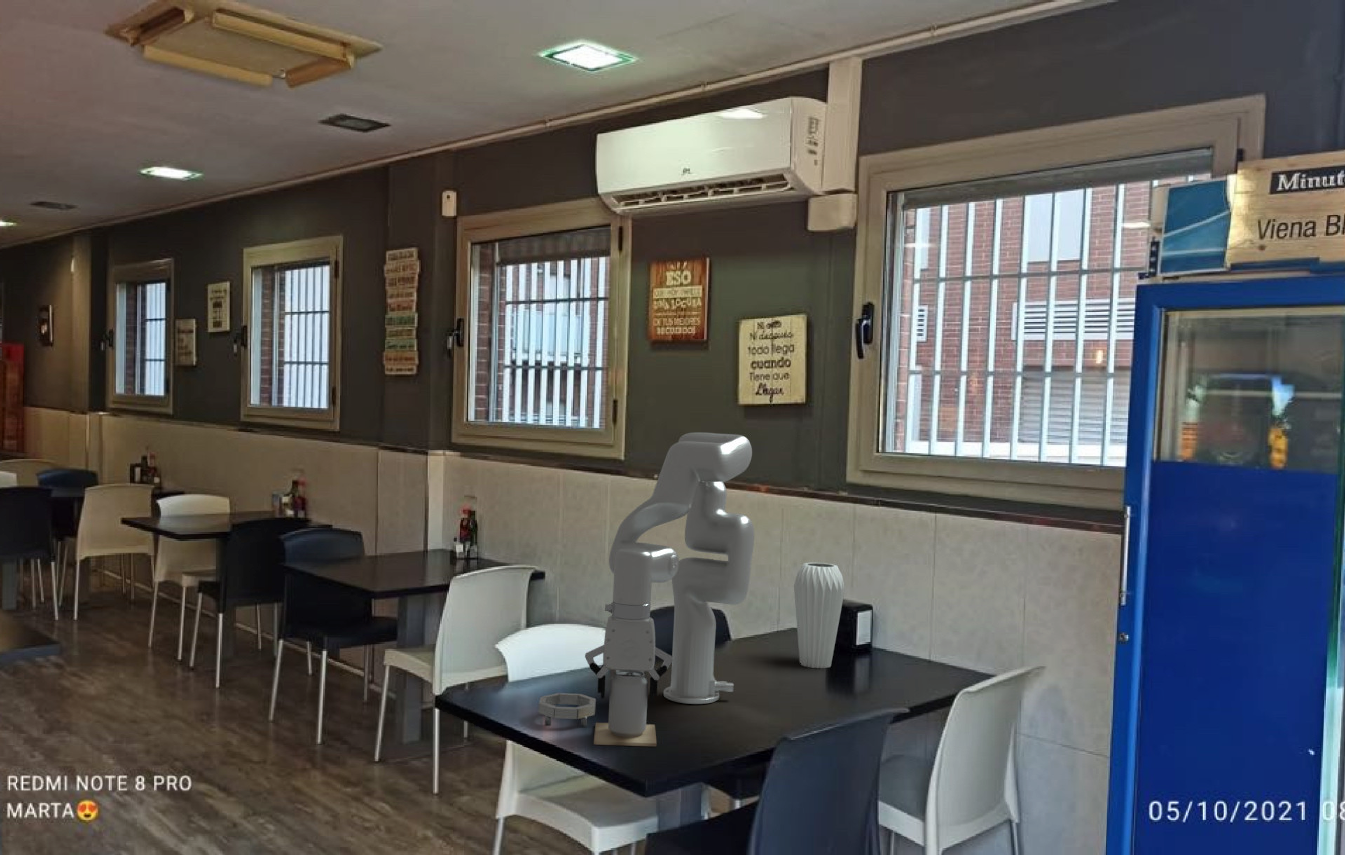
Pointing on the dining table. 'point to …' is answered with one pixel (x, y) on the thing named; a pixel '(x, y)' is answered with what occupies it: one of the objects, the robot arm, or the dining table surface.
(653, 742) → the cork pad
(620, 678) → the can
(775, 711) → the dining table surface
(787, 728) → the dining table surface
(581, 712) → the ring stand
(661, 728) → the dining table surface
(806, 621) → the vase
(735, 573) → the robot arm
